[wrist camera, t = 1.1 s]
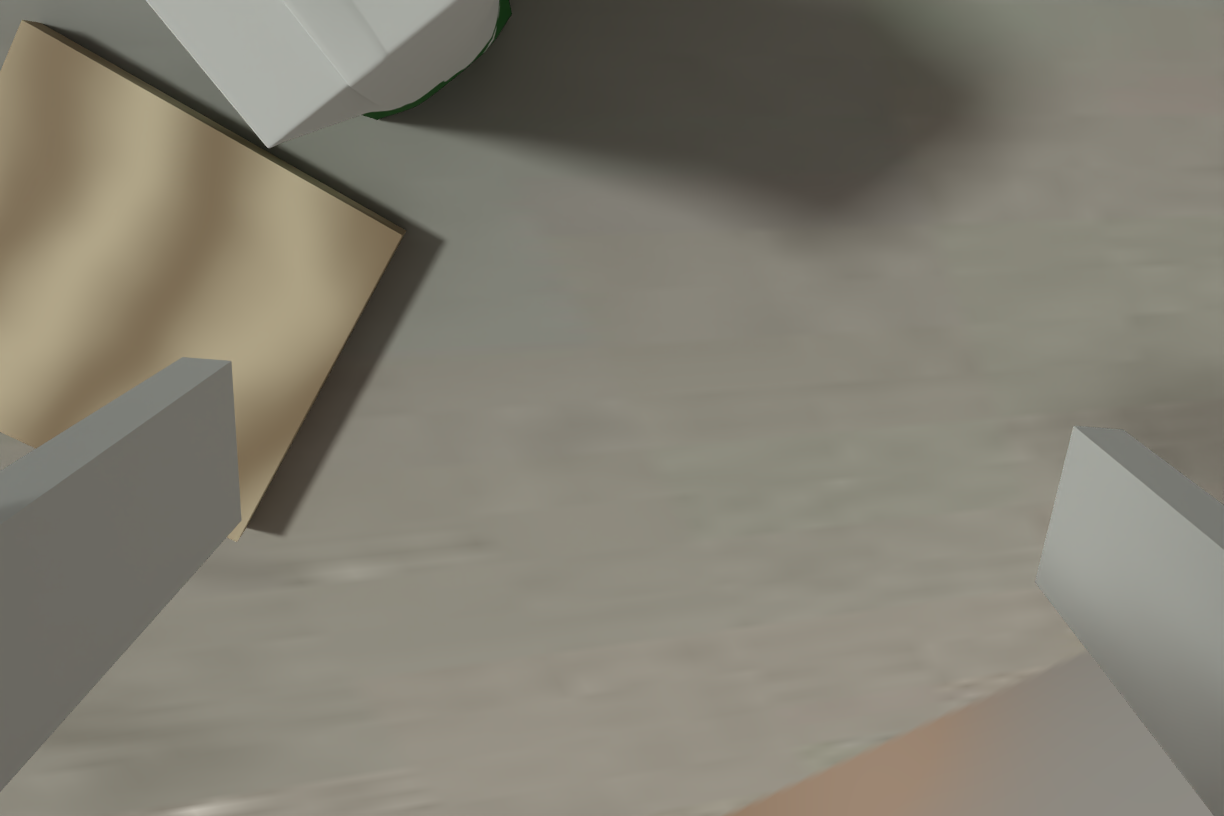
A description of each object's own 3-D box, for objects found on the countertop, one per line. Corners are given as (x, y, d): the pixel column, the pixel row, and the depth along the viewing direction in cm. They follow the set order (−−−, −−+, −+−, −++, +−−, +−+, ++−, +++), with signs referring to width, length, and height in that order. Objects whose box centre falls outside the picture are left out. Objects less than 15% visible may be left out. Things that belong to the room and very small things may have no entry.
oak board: (-104, 363, 41) (-126, 373, 40) (40, 22, 38) (21, 19, 37) (245, 528, 45) (236, 542, 44) (406, 230, 42) (402, 235, 40)
